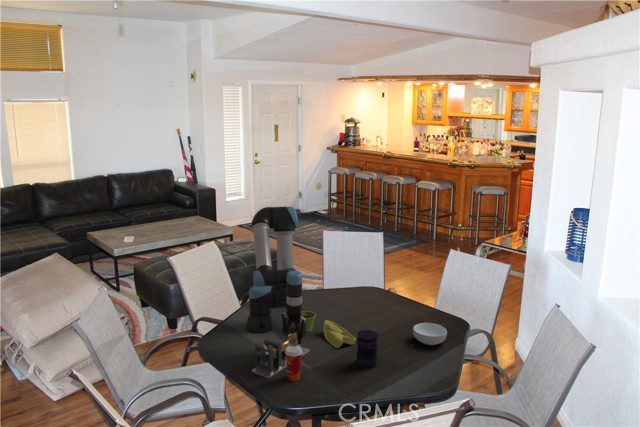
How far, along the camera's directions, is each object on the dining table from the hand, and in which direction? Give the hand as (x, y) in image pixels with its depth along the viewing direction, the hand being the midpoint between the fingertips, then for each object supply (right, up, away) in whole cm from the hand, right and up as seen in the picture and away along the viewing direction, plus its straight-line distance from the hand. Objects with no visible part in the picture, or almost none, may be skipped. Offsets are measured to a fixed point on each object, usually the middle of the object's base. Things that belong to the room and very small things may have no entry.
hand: (293, 348), depth 268 cm
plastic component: (+22, 0, +16) cm, 28 cm away
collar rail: (-5, -4, -7) cm, 10 cm away
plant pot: (+6, +3, +27) cm, 28 cm away
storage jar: (+35, -5, -8) cm, 36 cm away
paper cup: (+1, -8, -22) cm, 23 cm away
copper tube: (-4, +2, -7) cm, 8 cm away
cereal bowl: (+69, -1, +16) cm, 70 cm away
